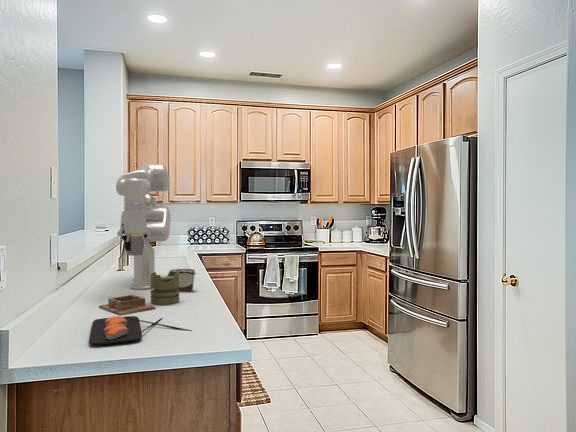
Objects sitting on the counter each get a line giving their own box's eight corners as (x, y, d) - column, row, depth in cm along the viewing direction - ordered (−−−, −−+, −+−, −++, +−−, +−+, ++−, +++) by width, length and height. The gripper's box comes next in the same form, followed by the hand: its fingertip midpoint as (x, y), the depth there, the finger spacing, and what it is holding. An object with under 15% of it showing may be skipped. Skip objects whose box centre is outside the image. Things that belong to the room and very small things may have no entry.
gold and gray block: (126, 254, 193) (125, 233, 193) (137, 253, 197) (136, 232, 196) (131, 255, 190) (131, 234, 189) (142, 254, 193) (142, 233, 193)
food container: (199, 290, 212) (199, 268, 212) (195, 292, 206) (195, 270, 206) (173, 289, 214) (173, 268, 213) (169, 292, 207) (168, 270, 207)
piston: (182, 274, 183) (153, 276, 178) (182, 303, 183) (153, 306, 178) (175, 270, 193) (148, 272, 188) (175, 298, 193) (148, 301, 188)
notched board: (98, 307, 176) (98, 297, 176) (132, 302, 186) (132, 292, 186) (120, 315, 164) (120, 304, 164) (155, 308, 174) (155, 299, 174)
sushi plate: (93, 324, 153) (92, 313, 153) (183, 316, 164) (183, 306, 164) (88, 350, 126) (88, 337, 126) (196, 339, 137) (196, 326, 137)
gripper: (147, 207, 201) (148, 248, 202) (110, 207, 189) (110, 251, 189) (156, 207, 196) (157, 249, 197) (118, 208, 184) (119, 252, 184)
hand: (134, 249), depth 193 cm, fingers closed on gold and gray block, 5 cm apart
